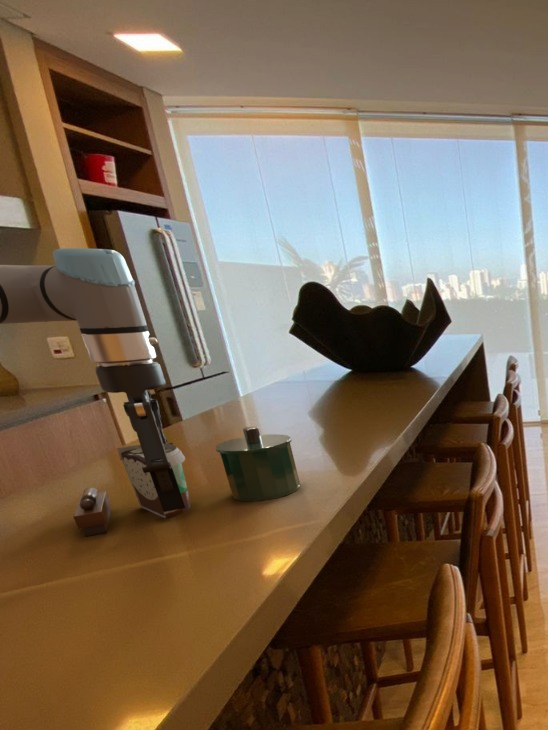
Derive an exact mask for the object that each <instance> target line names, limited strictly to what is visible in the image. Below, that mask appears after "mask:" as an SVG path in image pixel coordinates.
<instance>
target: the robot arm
mask: <svg viewBox="0 0 548 730" xmlns="http://www.w3.org/2000/svg"><path fill="white" fill-rule="evenodd" d="M52 256H53V260H54V261H53V262H54V265H27V264H26V265H25V264H23V265H21V264H20V265H19V264H18V265H16V264H0V325H5V324H7V325H8V324H26V323H27V324H28V323H48V322H72V321H73V322H77V325H78V327H79V330H80V335H81V338H82V341H83V344H84V346H85V349H86V351H87V355H88V357H89V360H90V362H92V363H94V364H97V366H95V368H94V372H95V374H96V377H97V380H98V383H99V385H100V389H101V390H102V391H103V392H105V393H110V394H118V393H119V394H120V393H125V394H126V398H127V401H123V405H122V406H123V409H124V410H123V411H124V412H125V414H126V416H127V417H128V419H129V422H130V425H131V428H132V429H133V431H134V432H135V433H136V436H137V438H138V439H137V440H138V442H139V445H141V448H142V451H143V454H144V457H145V461H146V467H143V468H142V470H143V472H144V473H148V472H150V475H151V478H152V480H153V483H154V486H155V489H156V492H157V495H158V497H159V500H160V503H161V506H162V509H163V511H164V512H167V511H172V510H177V509H182V508H185V504H184V501H183V498H182V495H181V492H180V489H179V486H178V483H177V480H176V477H175V474H174V472H173V469H172V467H171V464H170V462H169V461H168V457H167V454H166V451H165V448H164V444H172V445H174V443H173V442H168V439H167V438H166V436H165V434H164V431H163V424H162V421H163V420H162V417H161V414H160V413H161V410H160V406H159V403H158V400H157V398H152V393H151V392H150V390H158V389H162V388H164V387H165V386H166V385H167V382H166V379H165V376H164V373H163V370H162V367H161V364H160V363H158V361H154V359H156V358H157V357H158V355H157V352H156V349H155V346H153V345H157V344H158V343H159V342H158V340H157V337H149V336H150V332H149V327H148V324H147V320H146V318H145V314H144V311H143V308H142V305H141V302H140V298H139V295H138V291H137V289H136V288H137V287H136V286H135V284H136V281H135V280H134V279H133V276H132V274H131V272H130V269H129V266H128V263H127V262H126V259H125V258H124V256H123V255H122V254H121V253H120V252H118V251H116V250H114V249H107V248H81V247H78V248H75V247H73V248H72V247H69V248H66V247H65V248H57V249H55V250H53V252H52ZM156 460H161V461H156ZM153 461H154V462H153Z"/></svg>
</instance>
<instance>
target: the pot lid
mask: <svg viewBox="0 0 548 730" xmlns="http://www.w3.org/2000/svg"><path fill="white" fill-rule="evenodd" d="M242 432H243V437H238V438H233V439H229V440H225V441H222V442H220V443H217V445H215V451H216V453H219V454H220V453H226V454H241V453H252V452H260V451H265V450H270V449H275V448H278V447H282V446H284V445H287V444H289V443H290V444H291V443H292V437H291V436H289V435H286V434H277V433H276V434H274V433H273V434H272V433H270V434H261V433H260V430H259V426H247V427H243V428H242Z"/></svg>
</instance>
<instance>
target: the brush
mask: <svg viewBox="0 0 548 730" xmlns="http://www.w3.org/2000/svg"><path fill="white" fill-rule="evenodd" d="M77 502H78V503H77V506H76V508H75V511H74V515H73V519H74V521H75V523H76V526H77V529H78V530H81V529H82V532H83V534H84V537H90V536H95V535H101V534H106V533H108V528H109V524H110V517H111V512H112V509H111V508H110V505H111V500H110V497H109V495H108V493H107V490H102V491H98V489H96V488H95V487H92V486H91V487H90V486H89V487H86V488H85V489H84V490H83V492H82V494H80V497H79V500H78V501H77Z"/></svg>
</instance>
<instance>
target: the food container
mask: <svg viewBox="0 0 548 730" xmlns="http://www.w3.org/2000/svg"><path fill="white" fill-rule="evenodd" d="M164 448H165V451H166V454H167V457H168V461H169V462H170V464H171V467H172V469H173V472H174V474H175V477H176V480H177V483H178V486H179V489H180V492H181V495H182V498H183V501H184V504H185V508H182V509H177V510H172V511H167V512H164V511H163V509H162V506H161V503H160V500H159V497H158V495H157V492H156V489H155V486H154V483H153V480H152V478H151V475H150V472H148V473H144V472H143V470H142V468H143V467H146V461H145V457H144V454H143V451H142V448H141V445H140V444H136V445H128V446H122V447H117V448H116V450H117V451H118V452H117V453H118V456H119V460H120V461H121V462H122V464H123V466H124V469H125V472H126V475H127V476H128V479H129V481H130V484H131V486H132V489H133V491H134V494H135V496H136V498H137V501H138V504H139V507H140V508H141V509H143V510H146V511H148V512H151V513H152V514H155V515H157V516H160V517H162V518H164V519H171V518H173V517H176V516H178V515H180V514H183V513H185V512H186V511H188V510H190V509H191V507H192V503H191V499H190V495H189V490H188V486H187V481H186V477H185V473H184V468H183V463H184V462H185V461H186V457H185V455H184V453H183V452H182V450H181V449H180V448H178V446H177V445H175V444H173V445H172V444H164ZM156 461H161V460H156ZM153 462H154V461H153Z"/></svg>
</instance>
